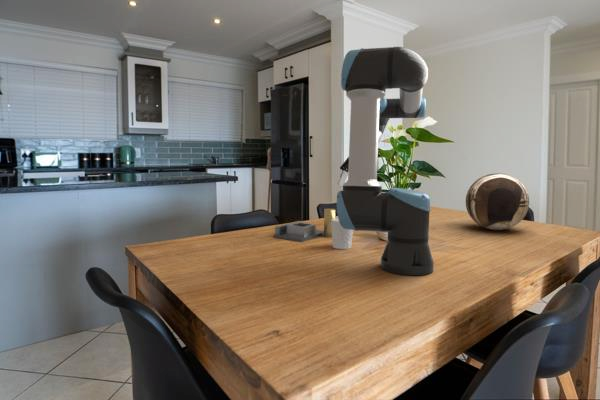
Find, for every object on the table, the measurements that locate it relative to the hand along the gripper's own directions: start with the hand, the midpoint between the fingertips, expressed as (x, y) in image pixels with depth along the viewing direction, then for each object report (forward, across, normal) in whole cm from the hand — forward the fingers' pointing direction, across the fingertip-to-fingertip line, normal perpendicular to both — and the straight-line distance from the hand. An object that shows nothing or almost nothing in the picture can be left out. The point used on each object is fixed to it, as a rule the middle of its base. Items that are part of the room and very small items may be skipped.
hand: (351, 186), depth 159 cm
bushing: (+22, +3, -2) cm, 22 cm away
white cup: (+26, -13, +5) cm, 29 cm away
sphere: (-12, -27, -64) cm, 70 cm away
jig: (+26, +11, +6) cm, 29 cm away
